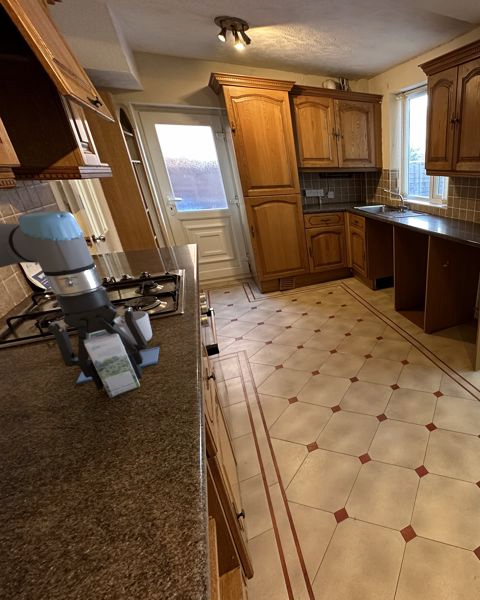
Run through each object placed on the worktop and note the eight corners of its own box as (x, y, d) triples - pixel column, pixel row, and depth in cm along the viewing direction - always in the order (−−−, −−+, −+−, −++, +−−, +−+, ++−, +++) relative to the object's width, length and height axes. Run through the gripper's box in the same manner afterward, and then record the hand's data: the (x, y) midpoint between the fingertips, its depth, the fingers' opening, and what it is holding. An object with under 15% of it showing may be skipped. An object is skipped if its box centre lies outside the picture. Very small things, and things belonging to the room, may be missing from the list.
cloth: (76, 384, 77) (75, 382, 77) (85, 365, 84) (85, 364, 84) (157, 363, 85) (156, 362, 84) (159, 347, 92) (158, 346, 92)
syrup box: (137, 376, 80) (115, 325, 74) (141, 387, 76) (118, 334, 70) (107, 387, 76) (81, 334, 70) (110, 399, 72) (83, 344, 66)
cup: (135, 353, 89) (125, 328, 86) (107, 354, 89) (95, 328, 86) (162, 334, 99) (153, 310, 96) (136, 334, 99) (127, 311, 96)
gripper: (3, 307, 58) (60, 406, 68) (136, 286, 67) (170, 375, 77) (20, 294, 64) (70, 386, 74) (140, 275, 73) (171, 360, 83)
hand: (121, 380), depth 75 cm, fingers closed on syrup box, 6 cm apart
